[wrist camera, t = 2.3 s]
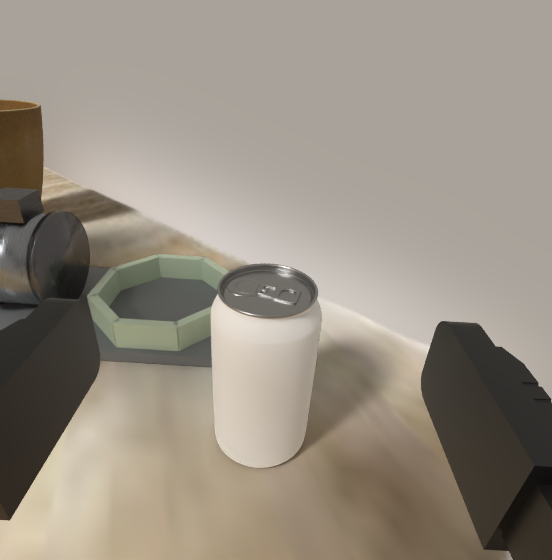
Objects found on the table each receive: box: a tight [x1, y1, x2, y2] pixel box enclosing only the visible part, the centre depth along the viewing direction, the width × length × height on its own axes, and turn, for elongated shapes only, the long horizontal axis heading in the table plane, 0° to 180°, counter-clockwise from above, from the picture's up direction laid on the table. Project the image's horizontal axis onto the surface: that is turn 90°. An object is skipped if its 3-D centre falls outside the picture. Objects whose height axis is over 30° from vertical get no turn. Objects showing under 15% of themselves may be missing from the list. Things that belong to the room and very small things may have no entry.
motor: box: [0, 187, 90, 305], centre depth 35 cm, size 7×9×11 cm
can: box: [211, 264, 322, 468], centre depth 24 cm, size 6×6×12 cm
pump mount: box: [0, 254, 229, 367], centre depth 38 cm, size 24×14×4 cm, turn 88°
